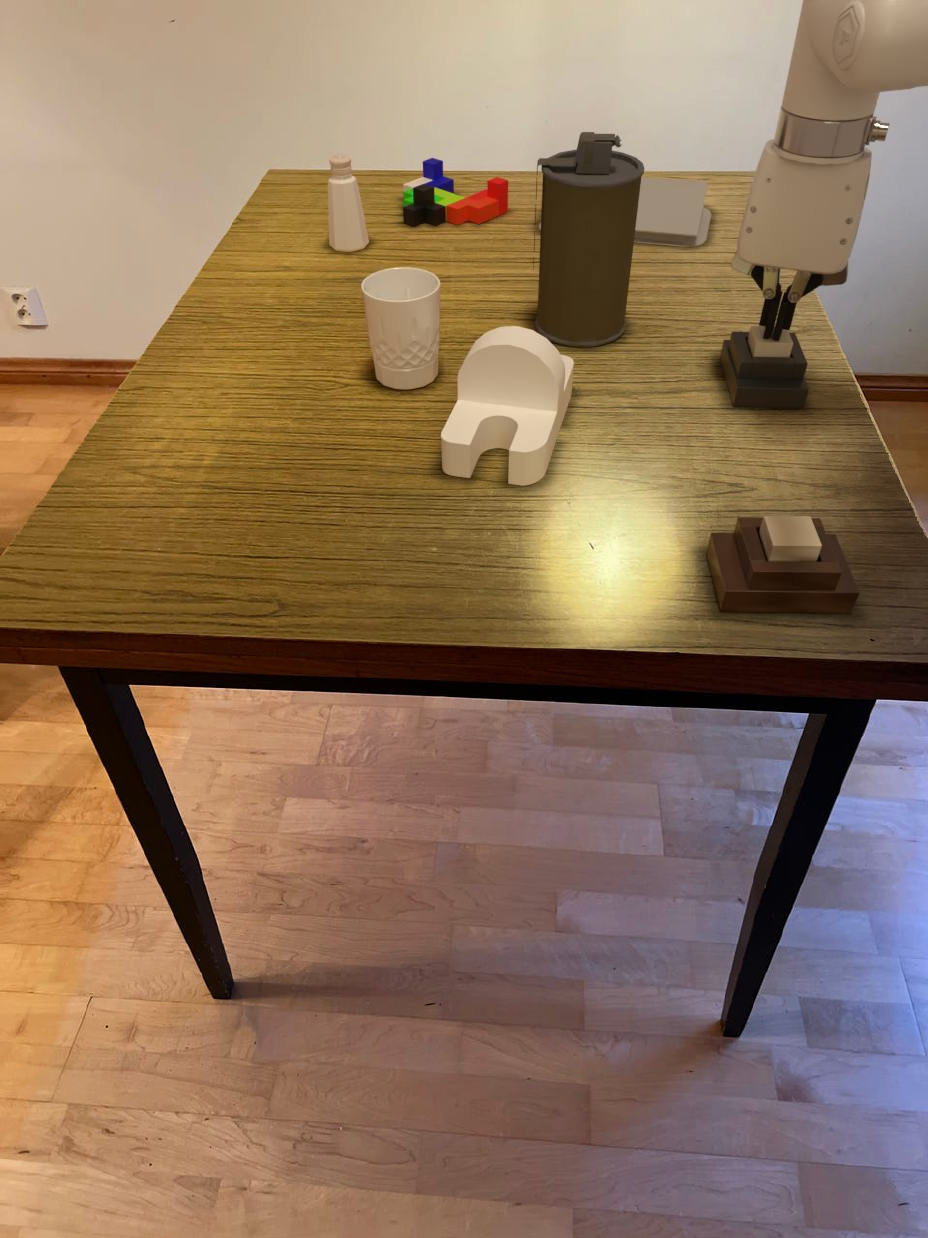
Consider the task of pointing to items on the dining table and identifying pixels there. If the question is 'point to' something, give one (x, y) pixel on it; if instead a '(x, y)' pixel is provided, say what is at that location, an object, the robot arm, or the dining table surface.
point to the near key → (790, 538)
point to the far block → (764, 375)
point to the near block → (778, 574)
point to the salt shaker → (345, 208)
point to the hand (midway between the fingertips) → (772, 333)
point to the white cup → (403, 325)
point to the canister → (586, 241)
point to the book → (671, 212)
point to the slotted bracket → (508, 404)
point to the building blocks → (450, 199)
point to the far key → (769, 343)
